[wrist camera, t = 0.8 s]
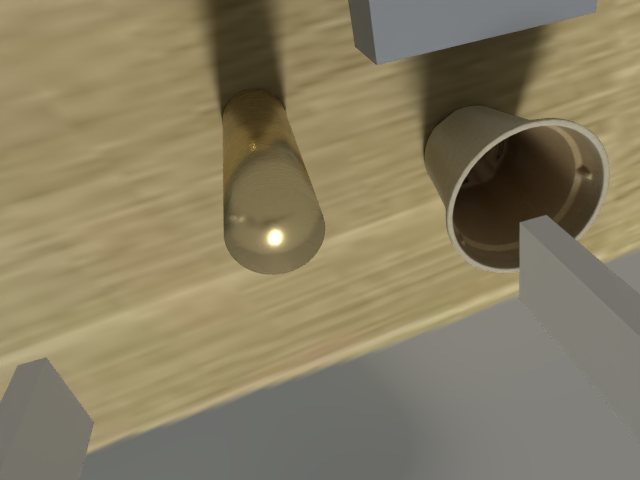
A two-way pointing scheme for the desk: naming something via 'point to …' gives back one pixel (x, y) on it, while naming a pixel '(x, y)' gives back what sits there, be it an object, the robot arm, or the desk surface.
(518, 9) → the slate block
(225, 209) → the long pin
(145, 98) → the desk surface
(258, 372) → the desk surface
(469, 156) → the flower pot
